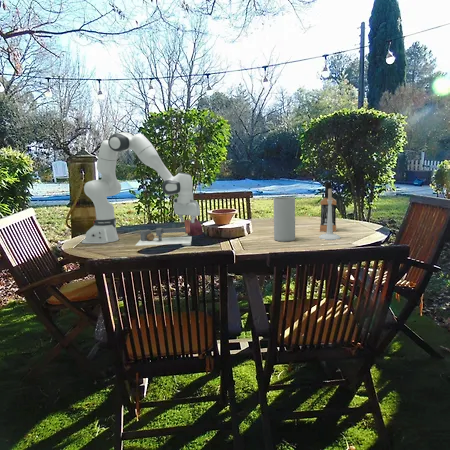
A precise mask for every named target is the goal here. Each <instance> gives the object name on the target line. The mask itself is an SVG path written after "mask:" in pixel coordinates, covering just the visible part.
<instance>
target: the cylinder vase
mask: <svg viewBox="0 0 450 450" xmlns="http://www.w3.org/2000/svg"><path fill="white" fill-rule="evenodd" d="M273 239H274V240H275V241H276V242H283V243H285V242H292V241H293V242H294V240H296V198H295V196H294V197H293V196H278V197H273Z"/></svg>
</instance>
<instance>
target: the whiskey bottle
mask: <svg viewBox="0 0 450 450" xmlns="http://www.w3.org/2000/svg"><path fill="white" fill-rule="evenodd" d="M328 189H332V182H331V181H327V182H325V190H324V198H322V199H321V200H320V225H319V232H321V231H327V218H328V201H327V200H328ZM332 200H333V201H332V204H331V206H332V228H333V231H336V232H337V223H336V221H337V220H336V218H337V217H336V216H337V215H336V212H337V210H336V209H337V208H336V207H337V200H336V199H335V198H334V197H332Z"/></svg>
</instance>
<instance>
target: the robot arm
mask: <svg viewBox="0 0 450 450" xmlns="http://www.w3.org/2000/svg"><path fill="white" fill-rule="evenodd" d="M129 150H132V151H133V152H134V154H135V155H136V156H137V158H138V159H139V161H141V162H142V164H144V165H145V166H147V167H149V168H151V169H153V170H154V171H156V173H157V174H158V175H159V177H160V178H161V179H162V180H163V182H162V184H161V189H162V192H163V193H164V194H166V195H168V196H173V195H178V197H175V198H174V199H173V200H172V202H173V212H174V214H175V215H178V217H179V220H180V222H181V223H185V219H184V216H191V219H192V220H191V219H190V220H191V223H194V220H195V217H196V218H197V217H198V216H200V214H201V209H200V204H199V202H198V201H197V200H196V199H195V200H194V193H193V189H194V188H193V187H194V185H193V177H192V175H191V174H189V173H187V172H178V173H177V174H176V175H173V174H172V173H171V171H170V170H169V169H168V167H167V166H166V165H165V164H164V162H163V160H162V159H161V157H160V156H159V153H158V152H157V150H156V148H155V146H154V145H153V144H152V142H151V141H150V140H149V139H148V138H147V137H146V136H145V135H144V134H143V133H135V134H134V133H132V132H128V131H126V132H125V131H120V132H118V133H117V132H116V133H112V134H111V135H110V136H109V137H108V139H105V140H103V141H102V142H101V144H100V147H99V151H98V155H97V162H96V163H97V164H96V170H97V172H98V173H100V175H101V179H93V180H89V181H87V182H86V183H84V186H83V191H84V194H85V195H86V196H87V197H88V198H89V199H90V200H91V202H93V205H94V209H95V210H94V211H95V217H96V219H94V220H93V222H92V223H93V226H91V227H90V228H89V229H88V230H87V231H86V232H85V237H84V239H83V240H82V241H81V244H107V243H113V242H117V241H119V240H120V239H119V235H118V232H117V221H116V218H115V217H116V216H115V208H114V207H115V206H114V205H113V204H112V203H110V201H109V200H108V197H112V196H113V197H114V196H115V195H118V194H119V193H121V191H122V184H121V183H120V181H119V180H118V178H117V176H116V174H117V173H116V168H117V160H118V155H119V153H120V152H121V153H122V152H127V151H129Z"/></svg>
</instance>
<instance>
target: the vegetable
mask: <svg viewBox="0 0 450 450" xmlns="http://www.w3.org/2000/svg"><path fill="white" fill-rule="evenodd" d="M189 220H190V233H188V234H187V236H202V235H204V229H203V225H202V224H201V222H200V221H199V219H198V218H197V216H196V217H195V220H194V223H191V220H192V218H191V219H189Z"/></svg>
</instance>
